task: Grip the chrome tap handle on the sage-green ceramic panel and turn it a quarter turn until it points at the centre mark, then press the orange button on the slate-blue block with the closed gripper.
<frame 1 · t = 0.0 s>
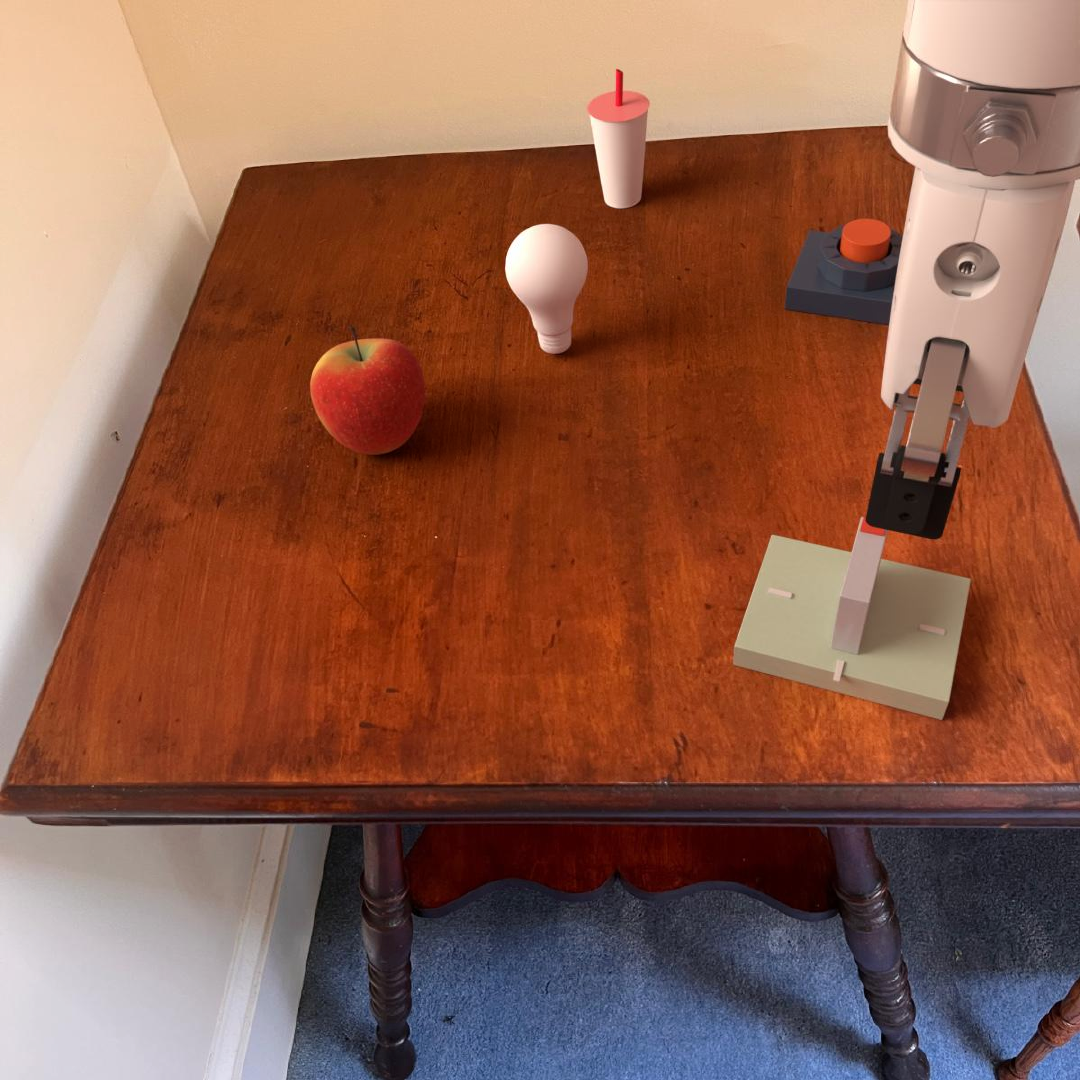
hand: (921, 451, 48), 18 cm above the table, tool pointing down, fingers open, 9 cm apart
apple: (383, 441, 78), on the table
button: (865, 241, 80), point 4 cm above the table, slide at 0.1 cm
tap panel: (849, 631, 63), on the table
cup: (622, 200, 96), on the table
button block: (857, 288, 84), on the table
lightbulb: (556, 352, 83), on the table
tap handle: (859, 584, 59), point 5 cm above the table, hinge at -90.0°
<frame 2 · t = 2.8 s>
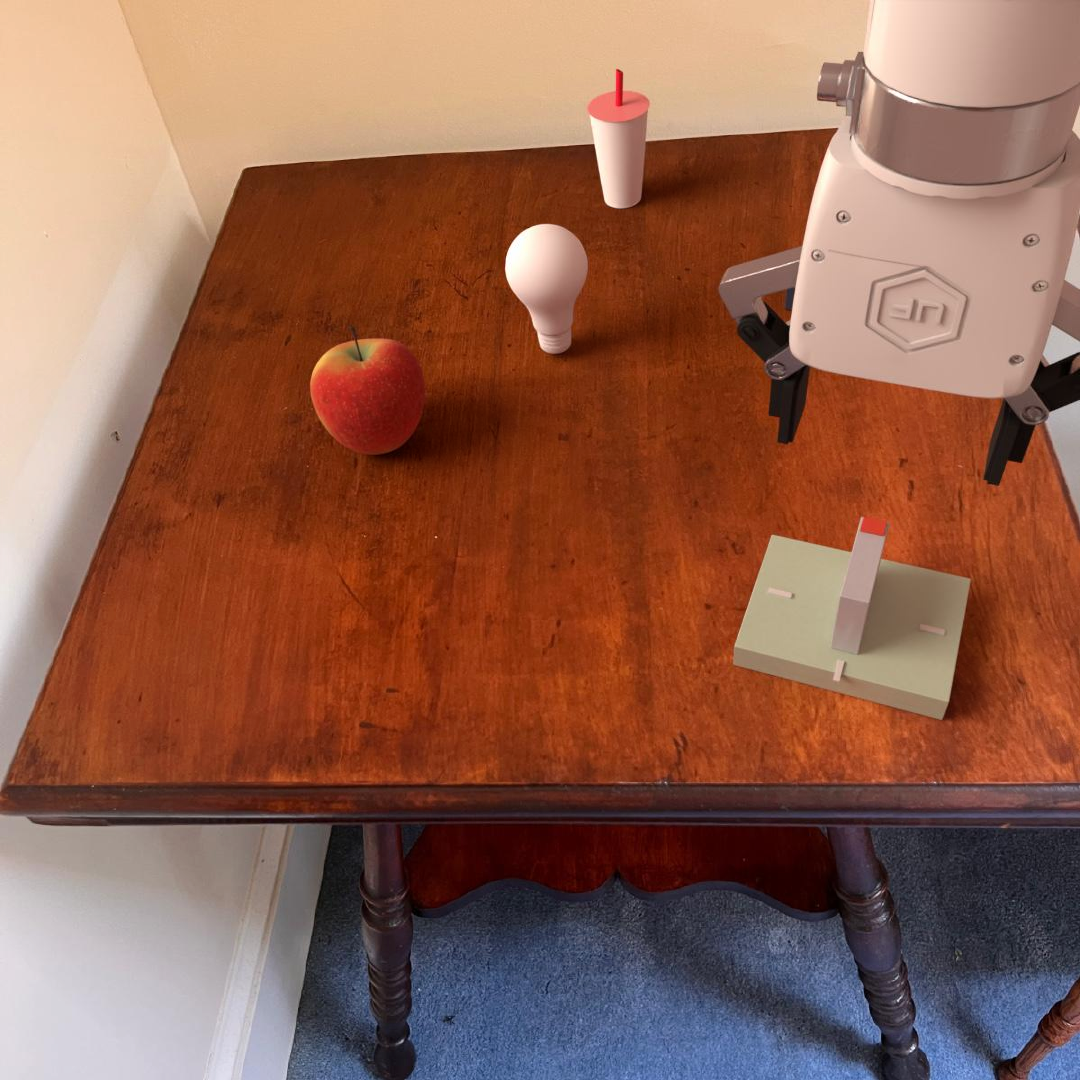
hand: (889, 444, 50), 16 cm above the table, tool pointing down, fingers open, 9 cm apart
nothing on the table moved.
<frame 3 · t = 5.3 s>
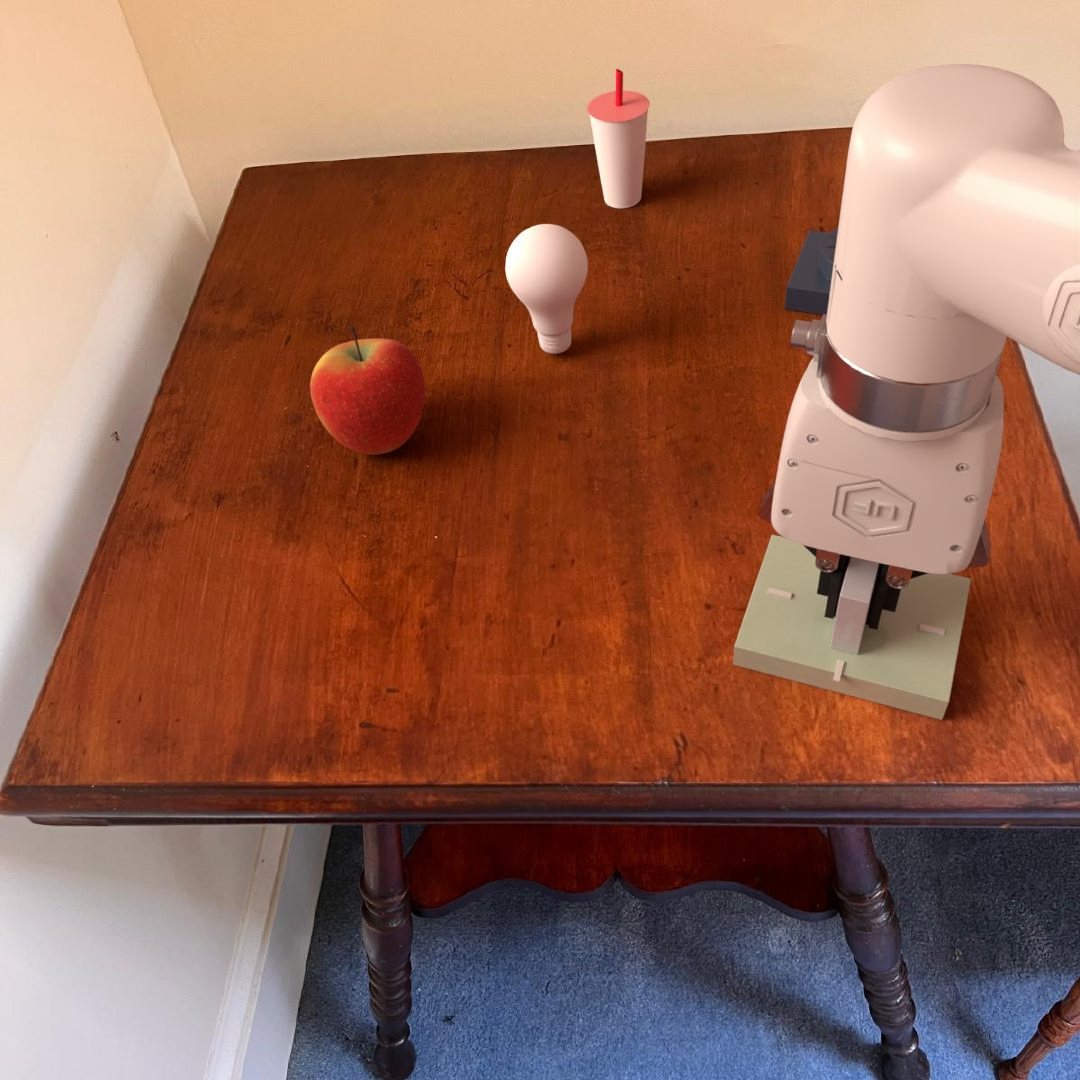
hand: (855, 603, 60), 3 cm above the table, tool pointing down, fingers closed on tap handle
tap handle: (859, 584, 59), point 5 cm above the table, hinge at -90.0°, touching gripper
everything else where it was.
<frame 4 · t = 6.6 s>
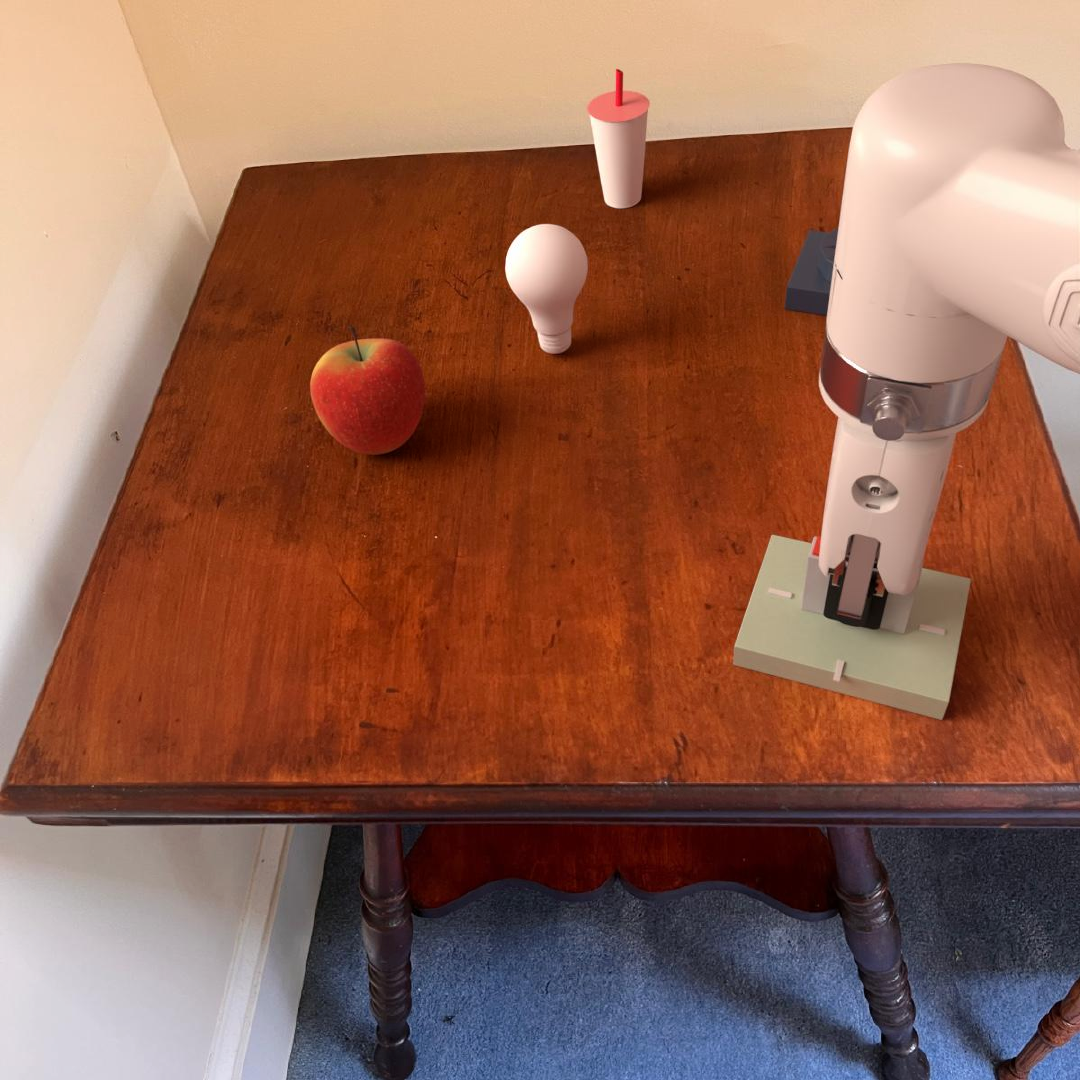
hand: (856, 603, 60), 3 cm above the table, tool pointing down, fingers closed on tap handle
tap handle: (859, 584, 59), point 5 cm above the table, hinge at 0.0°, touching gripper
everything else where it was.
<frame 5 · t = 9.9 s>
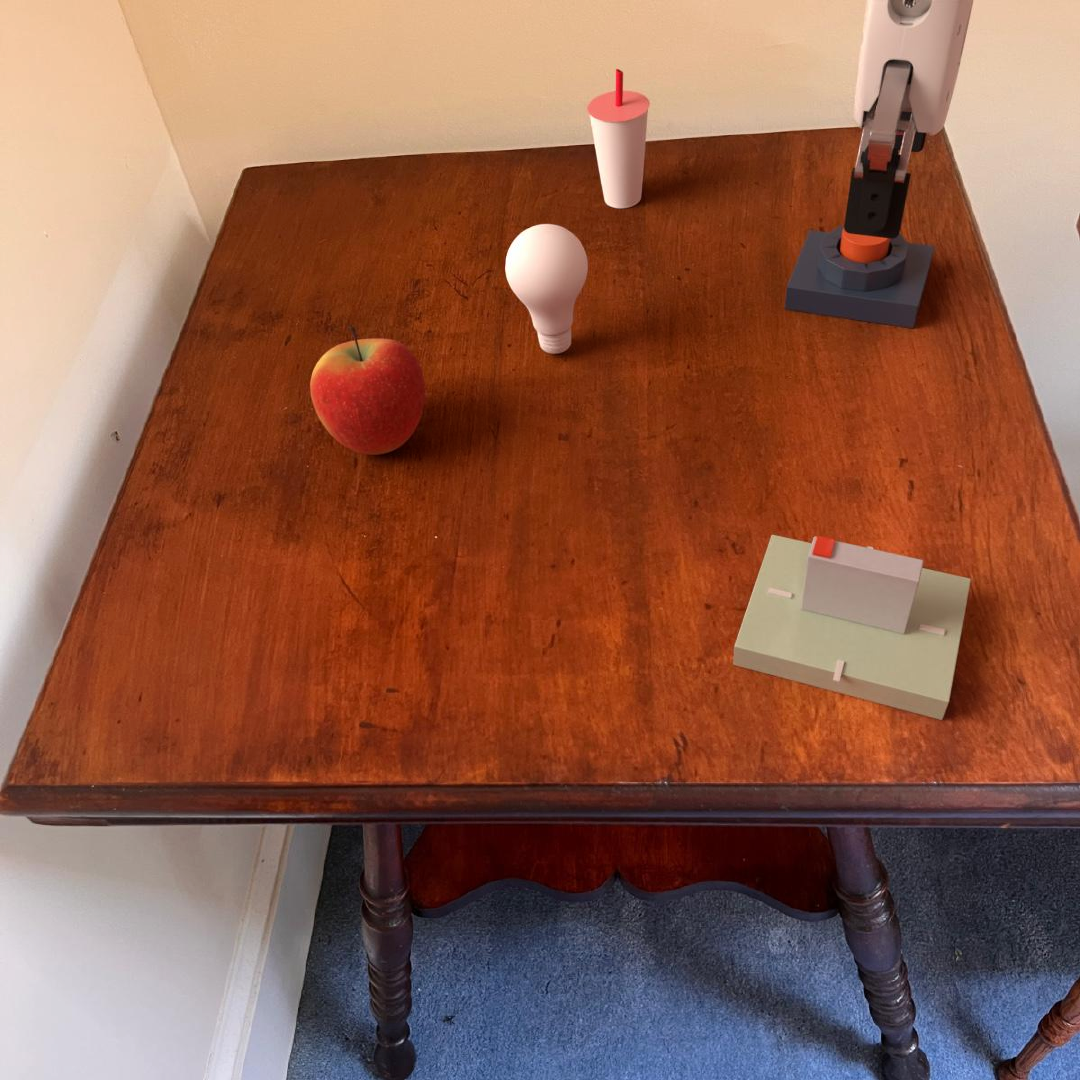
hand: (884, 188, 65), 16 cm above the table, tool pointing down, fingers open, 9 cm apart
tap handle: (859, 584, 59), point 5 cm above the table, hinge at 0.0°
everything else where it was.
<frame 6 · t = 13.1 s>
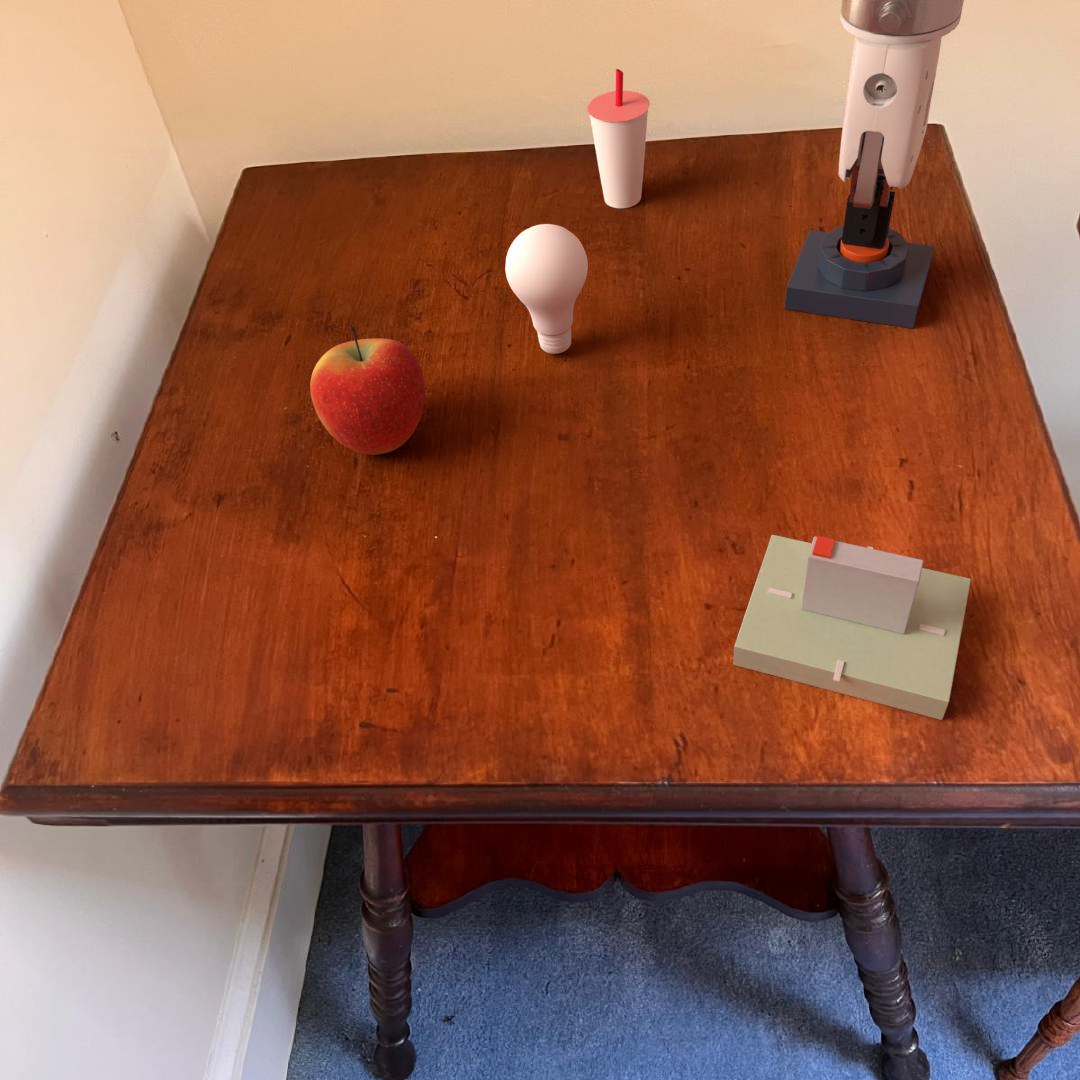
hand: (864, 240, 80), 4 cm above the table, tool pointing down, fingers closed
button: (863, 251, 81), point 4 cm above the table, slide at -0.8 cm, touching gripper
everything else where it was.
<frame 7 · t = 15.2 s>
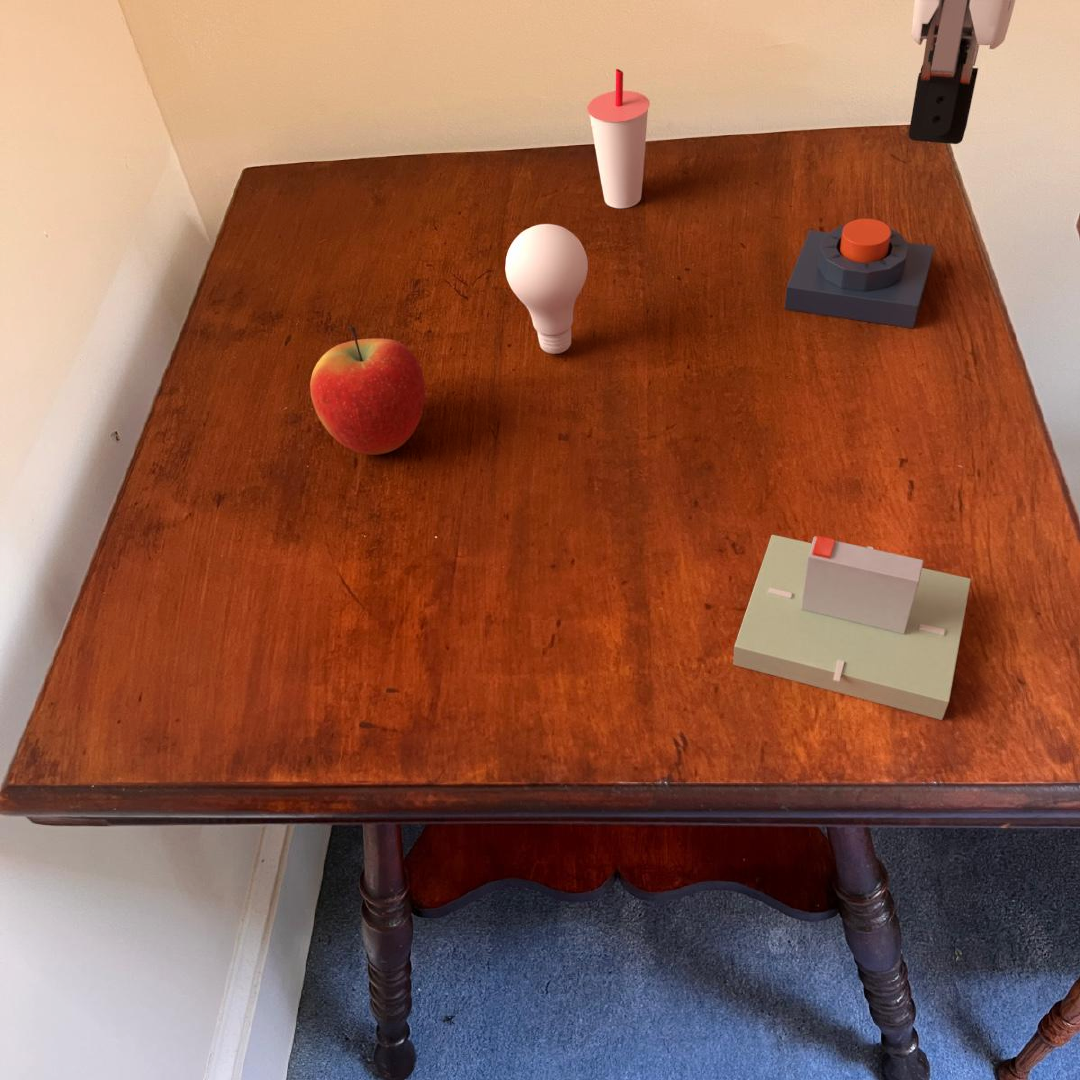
hand: (936, 135, 64), 18 cm above the table, tool pointing down, fingers closed
button: (865, 241, 80), point 4 cm above the table, slide at 0.1 cm
everything else where it was.
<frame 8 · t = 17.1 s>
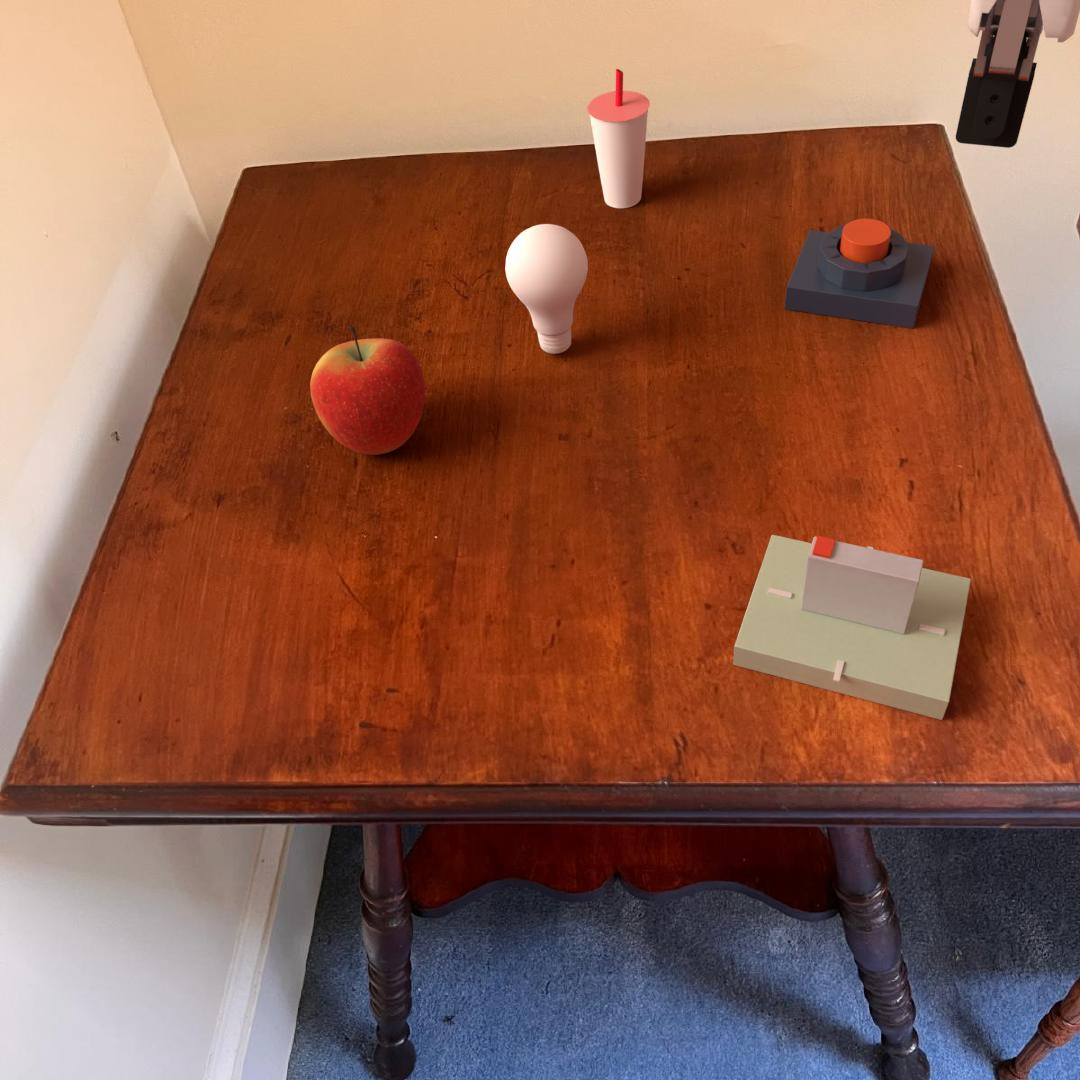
hand: (986, 137, 58), 21 cm above the table, tool pointing down, fingers closed
nothing on the table moved.
at the end: tap handle at +0° (first picture: -90°); button pushed in 1.1 cm at the most during the clip, back to where it started at the end; button slide at 0.1 cm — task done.
